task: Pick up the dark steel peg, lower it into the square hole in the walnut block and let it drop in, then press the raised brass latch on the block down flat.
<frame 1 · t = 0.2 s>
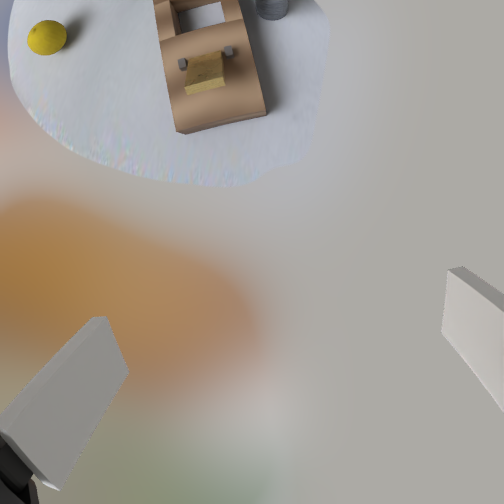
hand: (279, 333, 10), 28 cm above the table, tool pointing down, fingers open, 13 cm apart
lemon: (62, 44, 31), on the table
peg: (271, 8, 29), on the table
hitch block: (209, 53, 31), on the table
latch: (205, 69, 26), point 7 cm above the table, hinge at 45.0°
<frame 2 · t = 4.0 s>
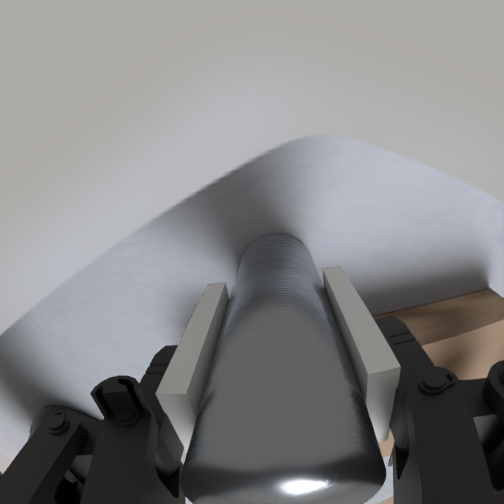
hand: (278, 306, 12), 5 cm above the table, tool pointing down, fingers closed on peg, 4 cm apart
peg: (276, 268, 17), on the table, touching gripper
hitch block: (364, 377, 19), on the table
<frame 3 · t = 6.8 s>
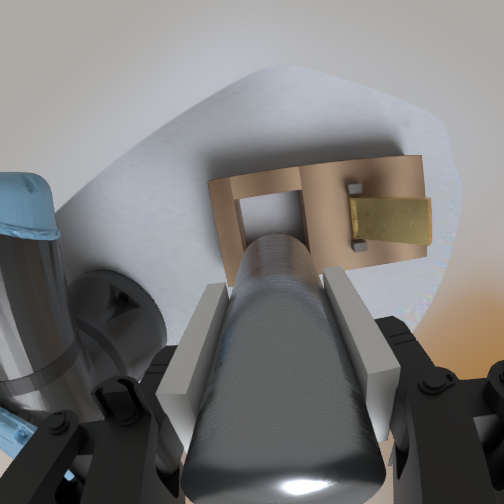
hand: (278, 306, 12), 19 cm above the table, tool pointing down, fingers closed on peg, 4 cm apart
peg: (276, 268, 17), point 15 cm above the table, touching gripper
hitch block: (321, 212, 30), on the table
latch: (389, 219, 23), point 7 cm above the table, hinge at 45.0°
when the fingers open (6 cm above the table, at t = 9.7 s): peg drops 2 cm, resting in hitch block.
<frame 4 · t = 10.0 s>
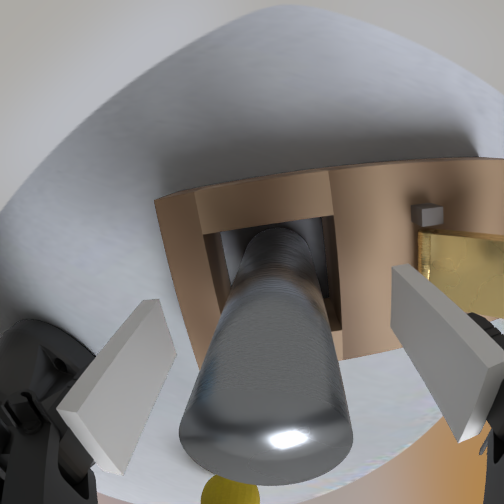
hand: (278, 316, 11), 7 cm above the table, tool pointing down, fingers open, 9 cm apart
lemon: (234, 468, 25), on the table
peg: (277, 260, 18), resting in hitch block
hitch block: (357, 247, 18), on the table
latch: (486, 274, 11), point 7 cm above the table, hinge at 45.0°
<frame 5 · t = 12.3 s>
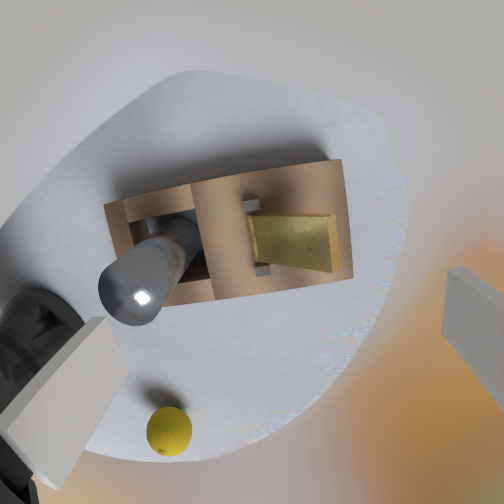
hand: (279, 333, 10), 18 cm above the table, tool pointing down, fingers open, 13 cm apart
lemon: (176, 408, 35), on the table
peg: (181, 238, 29), resting in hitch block
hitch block: (230, 229, 28), on the table
latch: (289, 239, 21), point 7 cm above the table, hinge at 45.0°
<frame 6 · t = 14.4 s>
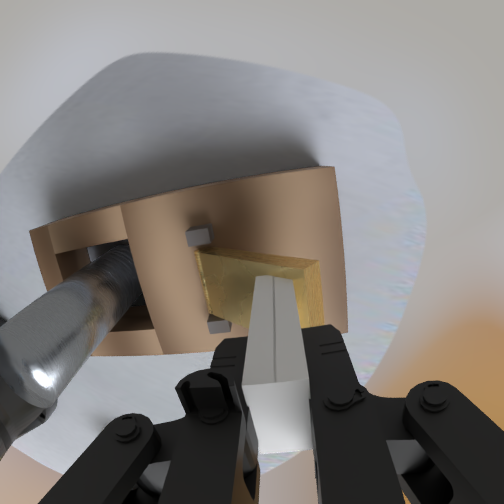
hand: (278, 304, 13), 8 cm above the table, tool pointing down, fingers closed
peg: (126, 270, 22), resting in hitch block
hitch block: (186, 261, 21), on the table
latch: (250, 291, 14), point 7 cm above the table, hinge at 43.7°, touching gripper
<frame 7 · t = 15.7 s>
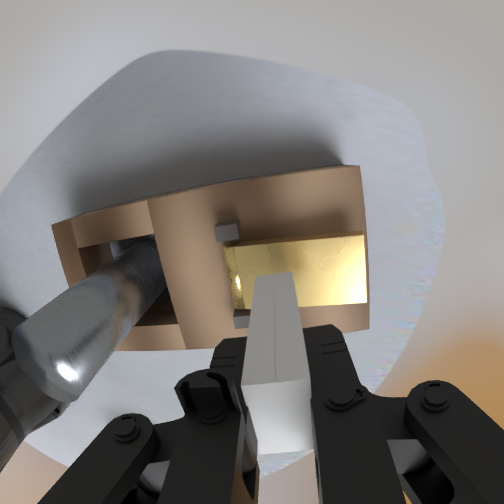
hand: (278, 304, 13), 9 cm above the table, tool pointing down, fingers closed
peg: (149, 265, 22), resting in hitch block
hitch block: (210, 256, 22), on the table
latch: (294, 272, 16), point 5 cm above the table, hinge at 10.2°
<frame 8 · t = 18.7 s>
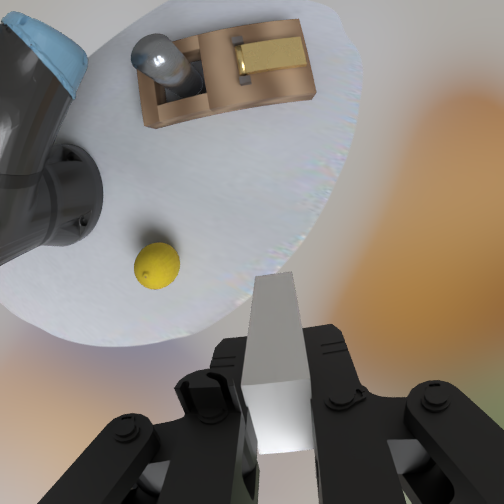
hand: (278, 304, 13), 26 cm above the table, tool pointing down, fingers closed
lemon: (167, 255, 41), on the table
peg: (187, 84, 34), resting in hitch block
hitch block: (225, 75, 33), on the table
latch: (270, 55, 28), point 5 cm above the table, hinge at 2.5°
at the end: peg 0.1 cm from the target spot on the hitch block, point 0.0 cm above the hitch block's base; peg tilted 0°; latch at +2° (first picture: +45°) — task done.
